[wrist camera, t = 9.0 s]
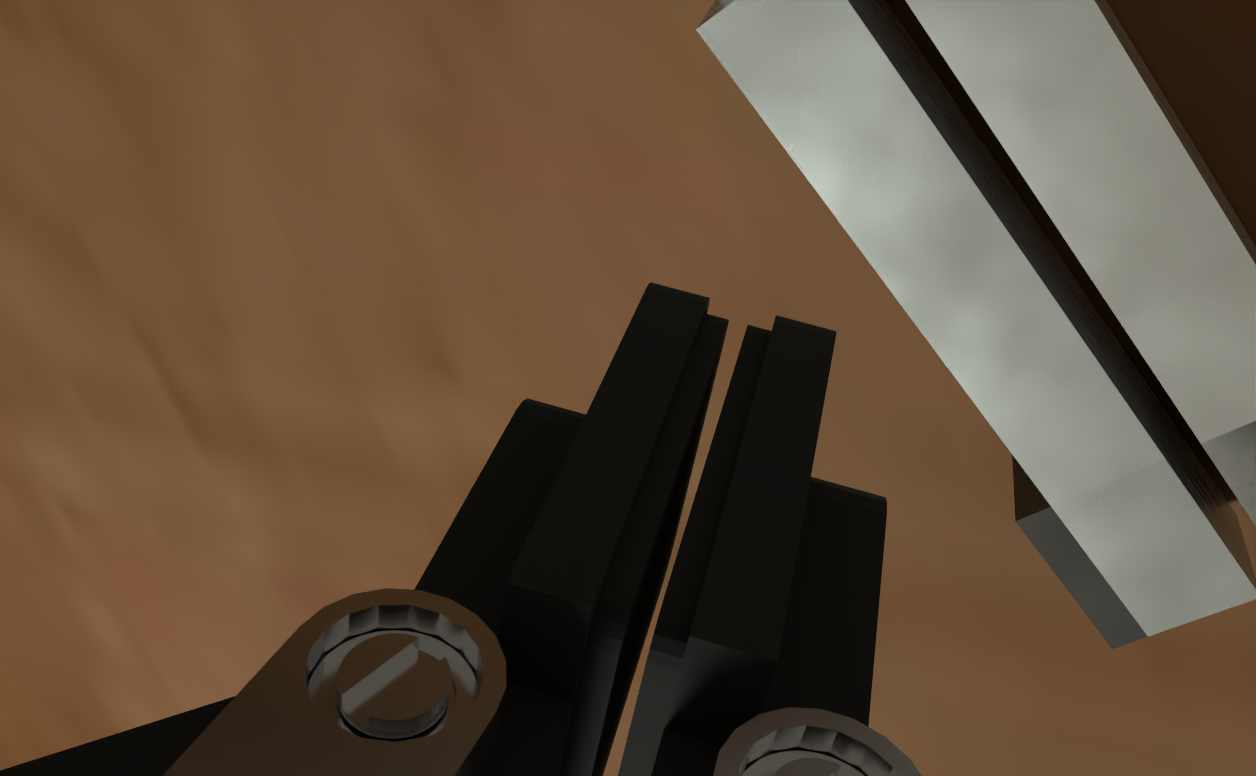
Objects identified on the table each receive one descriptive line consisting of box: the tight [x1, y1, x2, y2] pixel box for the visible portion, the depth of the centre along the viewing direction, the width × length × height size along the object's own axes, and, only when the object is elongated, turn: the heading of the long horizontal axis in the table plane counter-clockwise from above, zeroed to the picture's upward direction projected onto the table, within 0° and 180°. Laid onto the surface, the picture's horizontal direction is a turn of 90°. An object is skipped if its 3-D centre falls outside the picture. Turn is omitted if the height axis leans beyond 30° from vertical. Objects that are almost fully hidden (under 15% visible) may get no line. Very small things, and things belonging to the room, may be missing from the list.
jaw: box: [696, 0, 1256, 649], centre depth 23 cm, size 21×3×3 cm, turn 40°
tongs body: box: [905, 0, 1256, 526], centre depth 21 cm, size 24×5×3 cm, turn 40°
